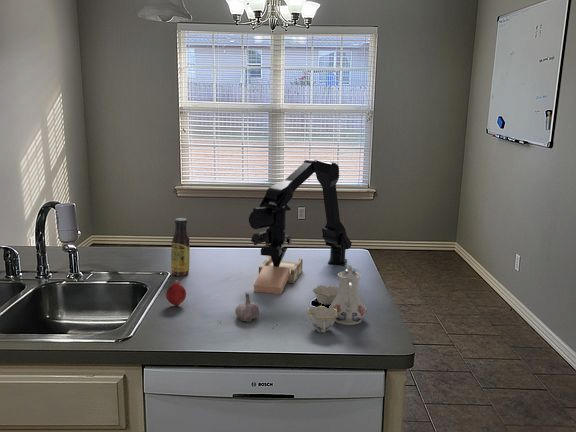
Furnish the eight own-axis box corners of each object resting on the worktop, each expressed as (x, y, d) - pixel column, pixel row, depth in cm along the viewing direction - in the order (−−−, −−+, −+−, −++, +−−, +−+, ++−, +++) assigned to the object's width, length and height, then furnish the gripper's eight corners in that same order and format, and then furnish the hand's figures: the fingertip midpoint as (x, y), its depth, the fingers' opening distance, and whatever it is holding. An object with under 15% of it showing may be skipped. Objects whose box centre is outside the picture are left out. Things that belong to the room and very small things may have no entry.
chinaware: (310, 304, 174) (306, 253, 171) (363, 301, 173) (360, 250, 170) (308, 344, 147) (304, 284, 144) (372, 340, 146) (369, 280, 143)
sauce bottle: (167, 275, 194) (166, 219, 190) (177, 270, 200) (176, 216, 195) (184, 277, 192) (182, 221, 187) (193, 272, 197) (192, 218, 193)
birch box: (269, 267, 205) (269, 255, 204) (302, 270, 202) (302, 258, 201) (258, 279, 191) (258, 267, 190) (293, 283, 189) (294, 270, 188)
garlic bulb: (249, 326, 154) (249, 298, 152) (228, 320, 157) (228, 293, 156) (265, 317, 160) (265, 290, 158) (244, 311, 164) (244, 285, 162)
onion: (169, 310, 163) (168, 284, 161) (164, 304, 168) (163, 278, 166) (188, 307, 165) (188, 282, 164) (183, 301, 170) (182, 276, 169)
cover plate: (264, 271, 190) (263, 265, 189) (289, 274, 188) (289, 267, 187) (254, 291, 180) (253, 285, 179) (281, 294, 178) (280, 287, 177)
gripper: (261, 217, 197) (261, 259, 200) (245, 229, 179) (245, 275, 183) (292, 219, 194) (291, 262, 198) (279, 231, 177) (278, 278, 180)
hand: (276, 269), depth 190 cm, fingers closed
